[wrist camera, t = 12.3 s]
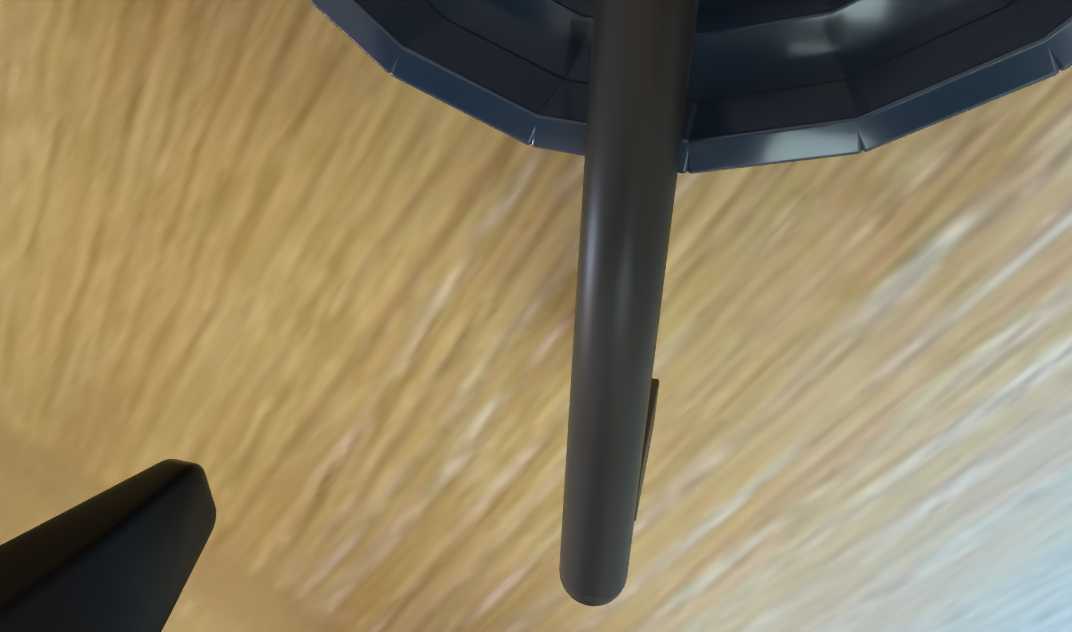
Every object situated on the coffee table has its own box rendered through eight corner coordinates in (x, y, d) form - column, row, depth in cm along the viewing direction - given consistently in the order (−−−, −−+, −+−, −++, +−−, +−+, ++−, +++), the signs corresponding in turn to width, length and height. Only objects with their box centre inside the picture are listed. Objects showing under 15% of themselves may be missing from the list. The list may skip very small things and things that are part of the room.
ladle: (727, 488, 17) (718, 649, 13) (518, 449, 18) (459, 592, 14) (980, -779, 8) (1150, -1271, 5) (544, -728, 9) (408, -1106, 5)
